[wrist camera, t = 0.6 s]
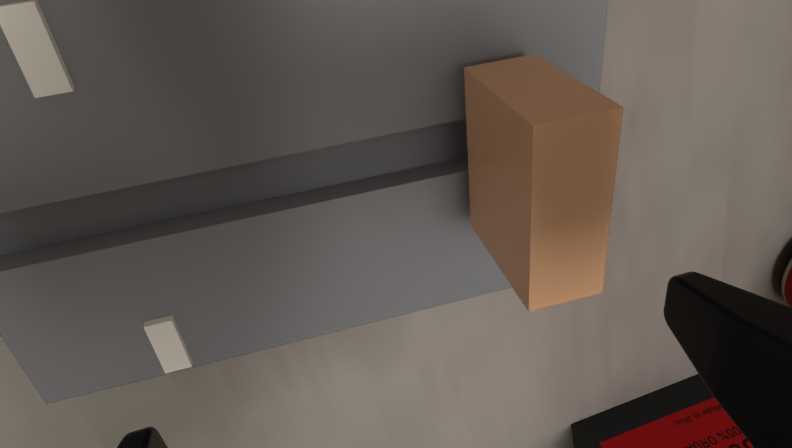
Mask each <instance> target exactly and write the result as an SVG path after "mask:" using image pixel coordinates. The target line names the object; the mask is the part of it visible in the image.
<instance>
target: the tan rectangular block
mask: <svg viewBox="0 0 792 448" xmlns="http://www.w3.org/2000/svg"><path fill="white" fill-rule="evenodd" d="M464 80H465V103H466V126H467V149H468V171H469V194H470V217H471V227H472V228H473V230H474V231H475V233H476V234H477V236H478V237H479V239H480V240H481V242H482V243H483V245H484V246H485V248H486V249H487V251H488V252H489V253H490V255H491V256H492V258H493V259H494V261H495V262H496V264H497V265H498V267H499V268H500V270H501V271H502V273H503V274H504V276H505V277H506V279H507V280H508V282H509V283H510V285H511V286H512V288H513V289H514V291H515V292H516V294H517V295H518V296H519V298H520V299H521V301H522V302H523V304H524V305H525V307H526V308H527V310H528V311H533V310H537V309H541V308H545V307H549V306H553V305H556V304H560V303H564V302H568V301H572V300H576V299H580V298H584V297H588V296H591V295H595V294H599V293H602V289H603V280H604V272H605V263H606V254H607V245H608V237H609V228H610V219H611V211H612V202H613V193H614V184H615V176H616V167H617V158H618V150H619V141H620V132H621V123H622V115H623V107H622V106H620V105H619V104H617V103H615V102H614V101H612V100H610V99H609V98H607V97H605V96H604V95H602V94H600V93H599V92H597V91H595V90H594V89H592V88H590V87H589V86H587V85H586V84H584V83H582V82H581V81H579V80H577V79H576V78H574V77H572V76H571V75H569V74H567V73H566V72H564V71H562V70H561V69H559V68H557V67H556V66H554V65H552V64H551V63H549V62H547V61H546V60H544V59H543V58H541V57H539V56H538V55H536V54H532V55H527V56H522V57H516V58H511V59H506V60H500V61H495V62H490V63H485V64H479V65H474V66H469V67H464Z"/></svg>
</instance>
